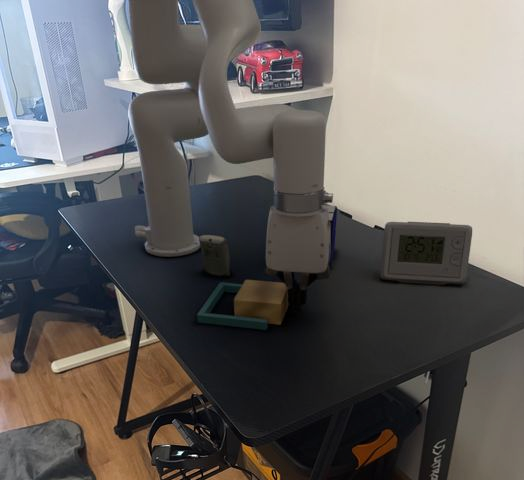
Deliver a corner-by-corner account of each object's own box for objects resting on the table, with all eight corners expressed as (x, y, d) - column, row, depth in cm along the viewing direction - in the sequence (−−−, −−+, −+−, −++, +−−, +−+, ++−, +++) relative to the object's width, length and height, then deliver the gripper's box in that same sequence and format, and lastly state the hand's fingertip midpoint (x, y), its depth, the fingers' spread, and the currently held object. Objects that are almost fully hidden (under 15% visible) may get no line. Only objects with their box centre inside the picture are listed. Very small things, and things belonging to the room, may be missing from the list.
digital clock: (375, 281, 99) (381, 228, 94) (383, 263, 106) (389, 213, 101) (463, 294, 94) (475, 238, 89) (466, 274, 101) (477, 222, 96)
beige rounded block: (201, 280, 101) (198, 241, 97) (202, 269, 105) (198, 231, 101) (230, 278, 101) (228, 240, 97) (229, 268, 106) (228, 230, 101)
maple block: (234, 320, 87) (233, 299, 85) (246, 299, 94) (245, 279, 92) (280, 325, 86) (280, 303, 84) (289, 303, 92) (289, 283, 90)
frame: (197, 322, 87) (196, 314, 86) (220, 289, 97) (220, 282, 97) (266, 330, 84) (266, 322, 84) (282, 295, 95) (282, 287, 94)
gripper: (350, 195, 80) (343, 301, 89) (256, 191, 83) (259, 294, 92) (345, 209, 73) (338, 321, 83) (244, 205, 77) (249, 313, 86)
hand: (297, 307), depth 88 cm, fingers closed
